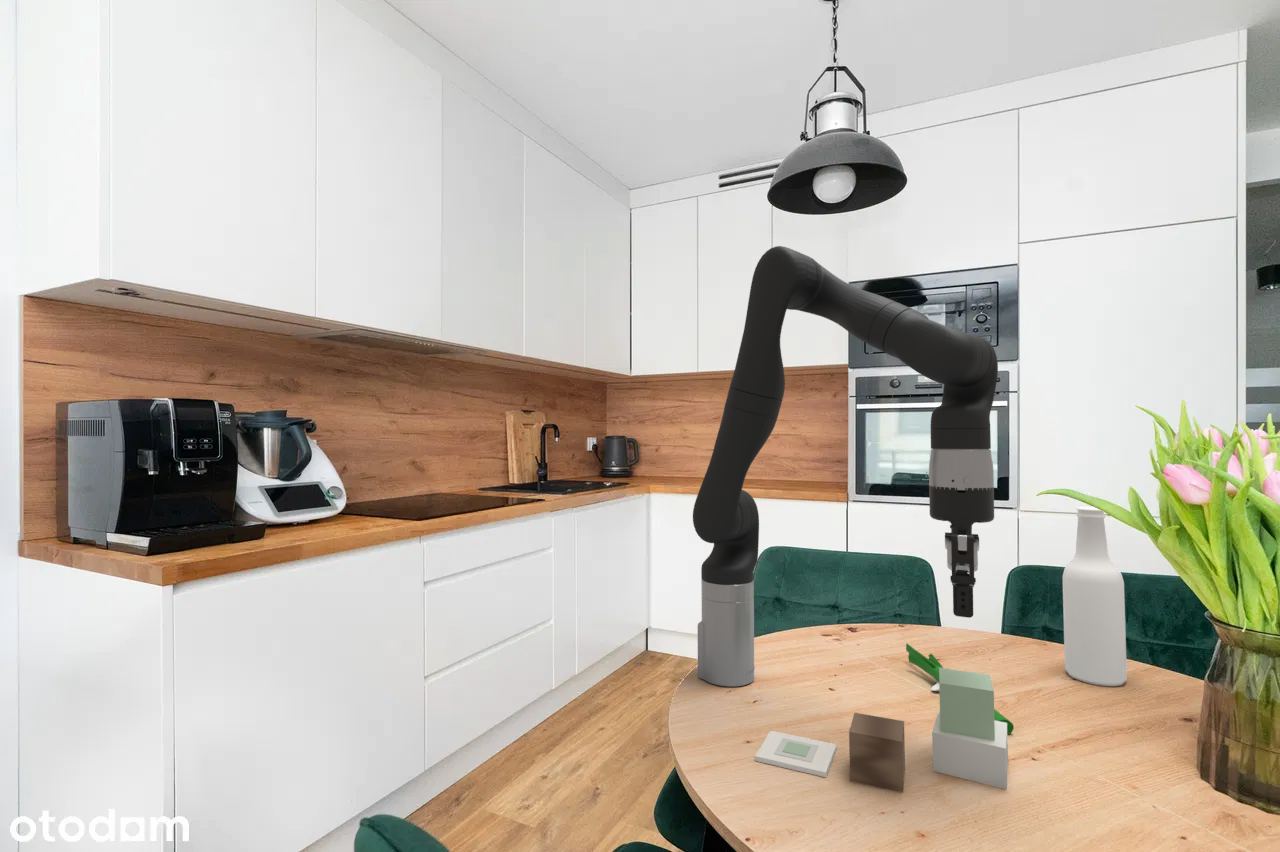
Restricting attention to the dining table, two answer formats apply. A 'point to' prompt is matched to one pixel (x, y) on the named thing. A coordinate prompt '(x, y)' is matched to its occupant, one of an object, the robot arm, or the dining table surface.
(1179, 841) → the dining table surface
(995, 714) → the green onion
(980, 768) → the grey base block
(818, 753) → the card
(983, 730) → the sage block
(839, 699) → the dining table surface
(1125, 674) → the alcohol
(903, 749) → the walnut block
